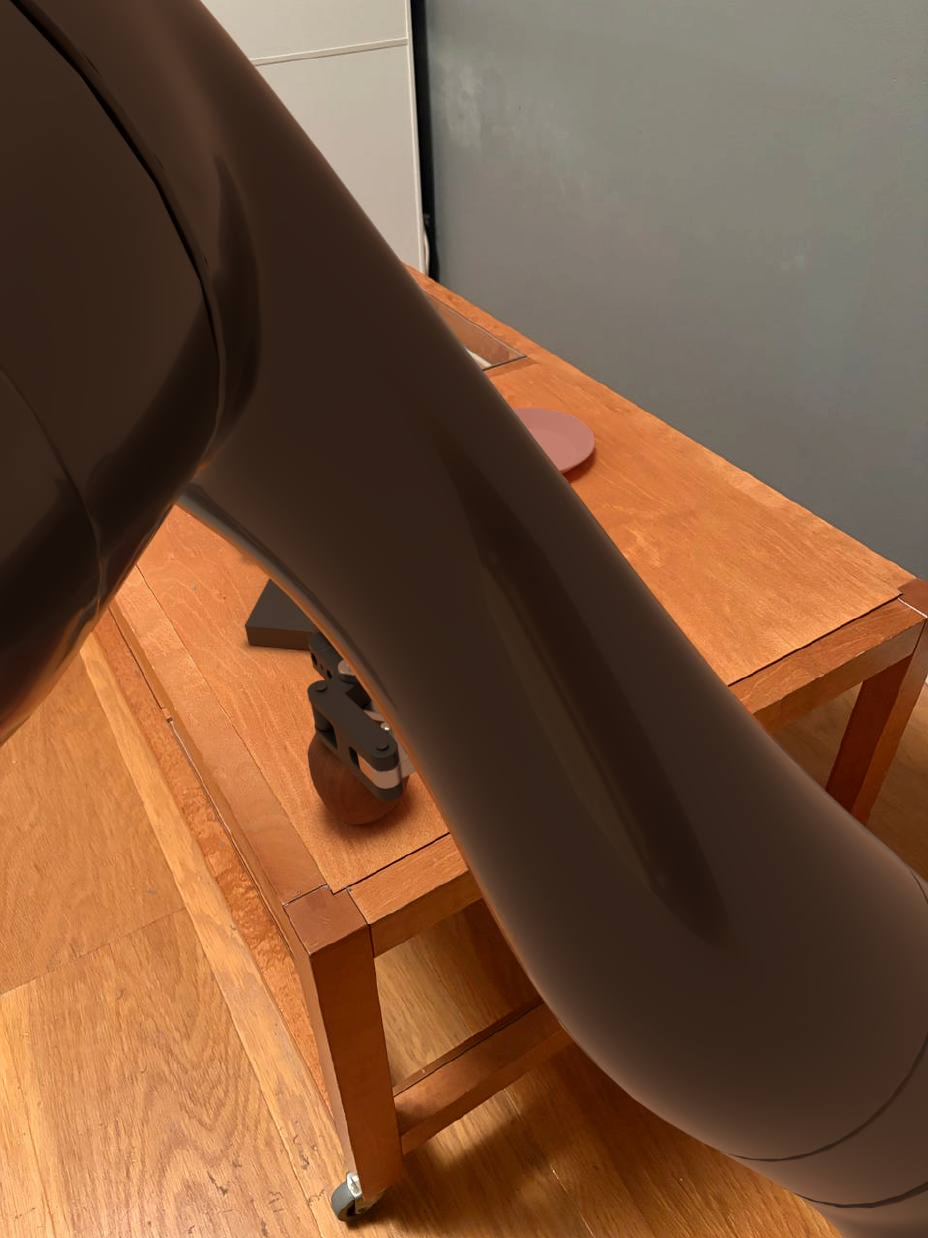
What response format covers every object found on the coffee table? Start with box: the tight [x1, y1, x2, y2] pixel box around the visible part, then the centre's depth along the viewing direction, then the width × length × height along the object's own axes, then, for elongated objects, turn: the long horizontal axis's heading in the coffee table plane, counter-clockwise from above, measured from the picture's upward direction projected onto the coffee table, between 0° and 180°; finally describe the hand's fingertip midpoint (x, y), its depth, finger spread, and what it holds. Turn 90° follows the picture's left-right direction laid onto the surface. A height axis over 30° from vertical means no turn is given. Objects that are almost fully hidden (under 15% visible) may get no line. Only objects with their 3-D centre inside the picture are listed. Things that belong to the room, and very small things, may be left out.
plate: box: [511, 406, 596, 475], centre depth 102 cm, size 14×14×2 cm
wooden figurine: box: [307, 719, 410, 826], centre depth 62 cm, size 7×6×15 cm
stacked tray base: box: [244, 577, 313, 651], centre depth 85 cm, size 10×16×4 cm, turn 170°
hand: (396, 604), depth 47 cm, fingers open, 8 cm apart
